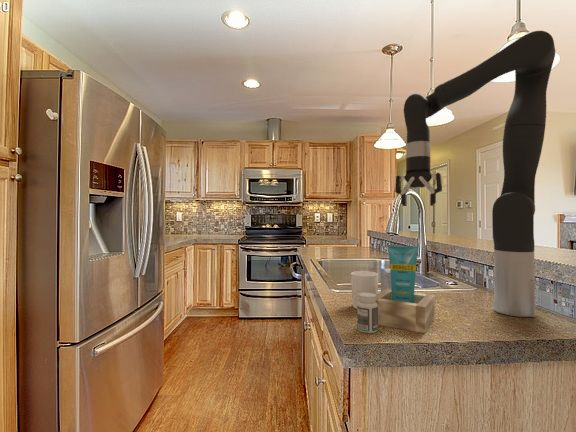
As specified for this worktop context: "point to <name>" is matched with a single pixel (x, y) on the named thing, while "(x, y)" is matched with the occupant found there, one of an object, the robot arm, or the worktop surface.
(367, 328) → the pill bottle
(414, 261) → the tube
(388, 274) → the medicine box
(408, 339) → the worktop surface
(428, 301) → the socket holder
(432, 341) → the worktop surface
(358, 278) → the white cup
